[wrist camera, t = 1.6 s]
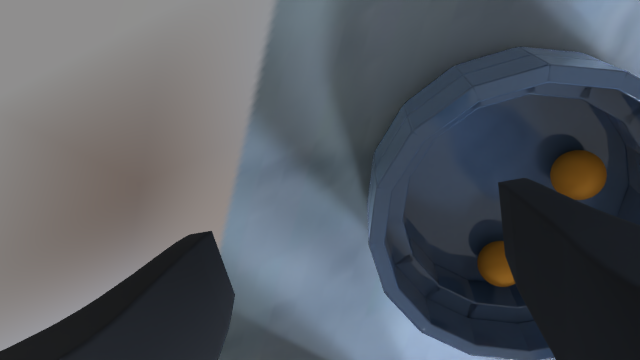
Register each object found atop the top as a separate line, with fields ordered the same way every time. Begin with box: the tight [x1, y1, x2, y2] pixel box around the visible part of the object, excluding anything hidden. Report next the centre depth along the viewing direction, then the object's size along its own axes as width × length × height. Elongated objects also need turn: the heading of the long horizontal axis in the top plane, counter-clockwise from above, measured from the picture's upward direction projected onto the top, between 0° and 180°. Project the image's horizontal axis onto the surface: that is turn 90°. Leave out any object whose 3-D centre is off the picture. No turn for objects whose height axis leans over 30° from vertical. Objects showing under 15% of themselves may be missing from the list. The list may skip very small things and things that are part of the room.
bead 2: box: [550, 150, 607, 200], centre depth 20 cm, size 2×2×2 cm
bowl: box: [367, 47, 640, 360], centre depth 20 cm, size 12×12×4 cm
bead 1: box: [477, 241, 515, 287], centre depth 22 cm, size 2×2×2 cm
